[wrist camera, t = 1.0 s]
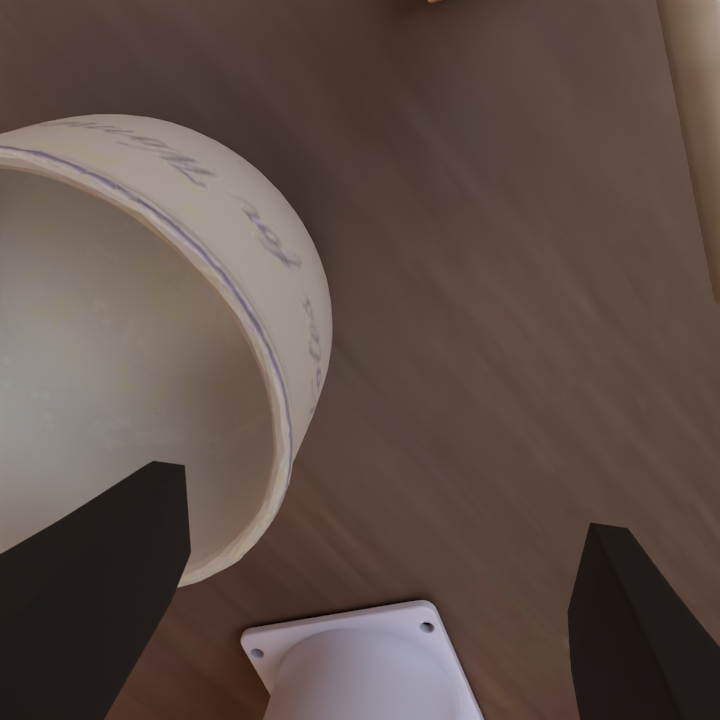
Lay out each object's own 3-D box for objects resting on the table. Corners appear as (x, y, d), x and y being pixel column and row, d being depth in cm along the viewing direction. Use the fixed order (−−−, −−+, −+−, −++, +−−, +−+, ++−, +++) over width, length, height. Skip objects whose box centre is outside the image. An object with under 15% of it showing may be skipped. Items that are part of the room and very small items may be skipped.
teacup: (428, 327, 20) (399, 487, 13) (182, 484, 25) (59, 671, 18) (97, -104, 17) (-185, -200, 10) (-125, 165, 21) (-434, 235, 14)
